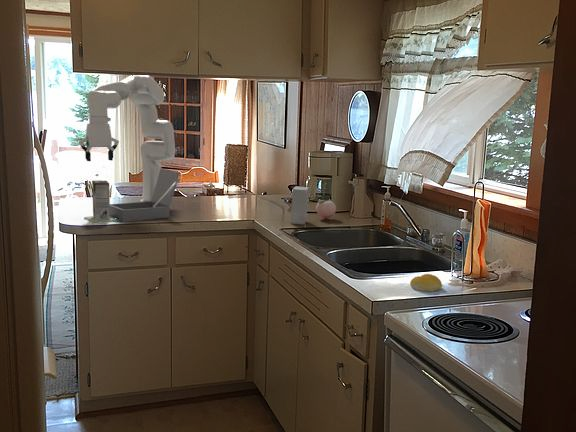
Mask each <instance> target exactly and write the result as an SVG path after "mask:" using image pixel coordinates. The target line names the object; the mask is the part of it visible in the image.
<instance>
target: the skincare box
mask: <svg viewBox="0 0 576 432" xmlns="http://www.w3.org/2000/svg"><path fill="white" fill-rule="evenodd" d="M309 188H310V187H308V186H300V185H299V186H297V185H295V186H294V187H293V188H292V193H291V194H292V197H291V208H290V209H291V210H290V211H291V212H290V224H291V225H292V224H294V225H305V223H306V222H307V214H308V203H309V190H310V189H309Z"/></svg>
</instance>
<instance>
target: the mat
mask: <svg viewBox="0 0 576 432" xmlns="http://www.w3.org/2000/svg"><path fill="white" fill-rule="evenodd" d="M83 218H84V219H85V220H87V221H90V222H91V223H94V224H101V223H112V222H111V221H113V222H118V221H119V220H118V219H115V218H113V217H110V220H95V218H94V217H93V215H92V216H84V217H83Z"/></svg>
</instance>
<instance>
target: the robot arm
mask: <svg viewBox="0 0 576 432" xmlns="http://www.w3.org/2000/svg"><path fill="white" fill-rule="evenodd" d="M132 75H133V76H132ZM132 75H131V74H130V75H127V76H126V77H124V78H122V79H121V80H119V81H116V82H112V83H107V84H105V85H100V86H97V87H95V88H92V89H91V90H90V91H89V92H88V93H87V96H86V101H87V105H88V115H89V117H88V119H89V120H88V122H89V123H87V124H86V131H85V137H84V138H82V139H81V140H79V141H78V145H79V146H80V148H81V149H82V150H83V151H84V153H85V160H86V161H87V162H91V160H92V159H91V152H90V150H92V149H93V148H107V149H108V151H107V158H108V159H107V160H109V161H113V159H114V151H115V150H116V149H117V148H118V145H119V143H120V141H119V140H118V139H116V138H114V137H112V132H111V126H110V123H109V122H111V121H112V120H111V119H112V118H111V117H109V116H108V109H117V108H119V106H120V105H121V103H122V101H125V100H128V99H130V101H131V102H132V103H133V104H134V105H135V106H136V108H137V109H138V112H139V116H140V117H139V118H140V127H141V134H142V137H144V138H145V139H150V140H146V141H143V142H142V143H141V144H140V148H139V150H140V156H141V161H142V162H141V163H142V194H141V196H142V199H141V198H140V199H139V202H146V201H151V200H152V197H153V193H154V190H155V186H156V183H157V179H158V176H159V172H160V169H162V165H161V164H160V162H159V161H171V160H173V159H174V158H175V156H176V144H175V143H176V142H175V131H174V125H173V123H172V122H171V121H170V120H165V119H159V117H158V109H157V106H159V105H162V104H163V103H164V101H165V92H164V90H163V89H162V87H161V86H160V85H159V84H158V82H157V81H156V80H155V79H154V78H153V77H151V76H150V75H139V74H137V75H134V74H132ZM151 139H153V140H151ZM154 139H155V140H154ZM84 143H85V145H84ZM112 144H113V145H112Z"/></svg>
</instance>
